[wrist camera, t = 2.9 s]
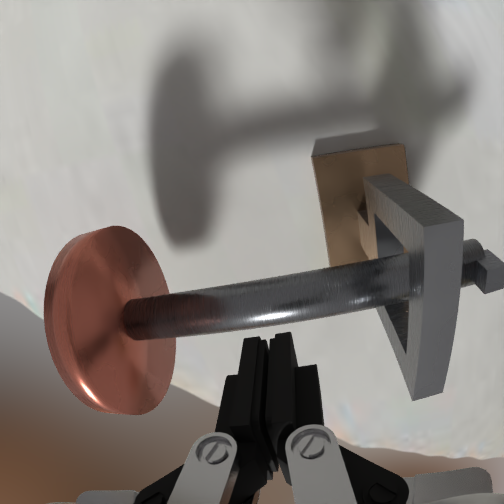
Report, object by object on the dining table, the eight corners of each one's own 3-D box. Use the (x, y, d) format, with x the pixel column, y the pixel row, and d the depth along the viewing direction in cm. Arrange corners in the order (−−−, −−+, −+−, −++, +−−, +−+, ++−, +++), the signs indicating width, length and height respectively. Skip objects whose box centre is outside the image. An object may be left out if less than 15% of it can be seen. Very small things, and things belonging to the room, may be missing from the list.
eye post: (311, 156, 20) (350, 207, 9) (398, 143, 19) (513, 181, 8) (333, 292, 23) (363, 424, 12) (408, 277, 22) (478, 392, 11)
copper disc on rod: (100, 214, 19) (-5, 289, 10) (439, 145, 16) (559, 184, 7) (151, 340, 23) (99, 446, 14) (442, 293, 19) (511, 395, 10)
